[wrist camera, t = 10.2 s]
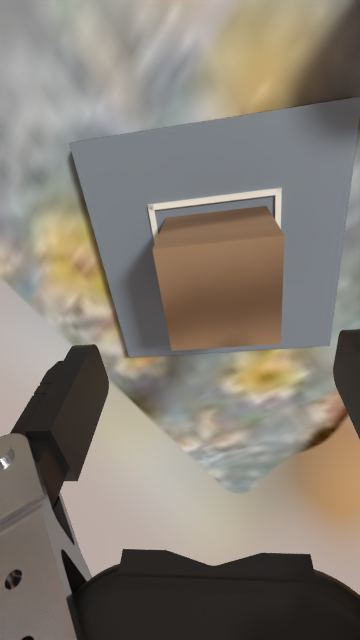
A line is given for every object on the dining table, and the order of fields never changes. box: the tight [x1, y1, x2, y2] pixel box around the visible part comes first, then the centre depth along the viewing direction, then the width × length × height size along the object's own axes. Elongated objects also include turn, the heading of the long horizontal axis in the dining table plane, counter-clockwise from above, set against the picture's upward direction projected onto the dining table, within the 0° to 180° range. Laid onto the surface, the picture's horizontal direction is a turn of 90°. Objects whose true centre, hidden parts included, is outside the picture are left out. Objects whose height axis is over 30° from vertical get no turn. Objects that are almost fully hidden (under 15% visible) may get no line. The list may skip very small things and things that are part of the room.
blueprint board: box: [69, 97, 360, 358], centre depth 20 cm, size 14×14×1 cm
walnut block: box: [152, 206, 284, 351], centre depth 17 cm, size 6×6×5 cm
